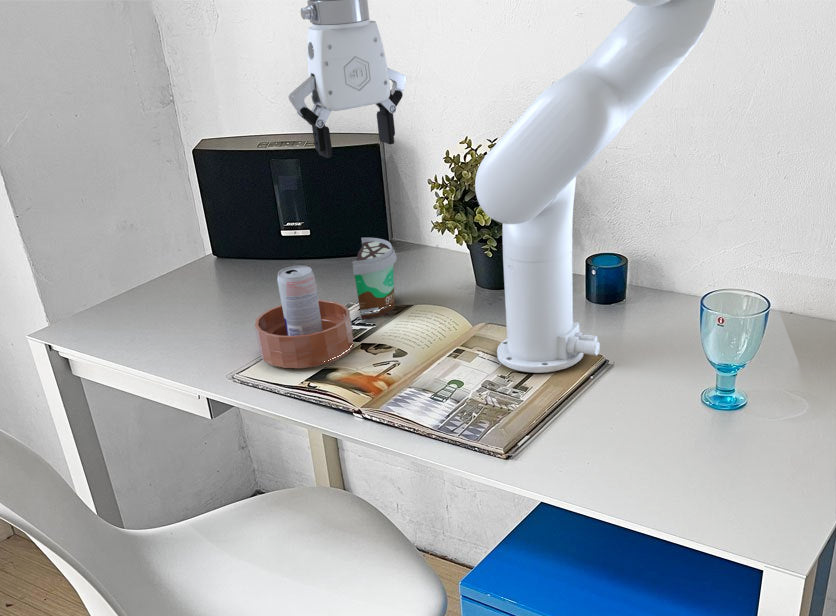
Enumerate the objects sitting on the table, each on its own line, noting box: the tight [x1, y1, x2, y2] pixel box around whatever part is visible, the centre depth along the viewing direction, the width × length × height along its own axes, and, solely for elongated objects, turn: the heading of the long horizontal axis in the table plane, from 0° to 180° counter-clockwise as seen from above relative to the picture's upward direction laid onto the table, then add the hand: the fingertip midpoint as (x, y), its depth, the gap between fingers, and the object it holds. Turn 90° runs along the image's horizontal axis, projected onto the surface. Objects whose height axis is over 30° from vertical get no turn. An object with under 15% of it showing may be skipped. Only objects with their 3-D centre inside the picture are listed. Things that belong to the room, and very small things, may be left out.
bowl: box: [254, 299, 355, 369], centre depth 148 cm, size 14×14×6 cm
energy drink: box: [276, 265, 323, 336], centre depth 146 cm, size 5×5×12 cm
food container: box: [352, 237, 398, 320], centre depth 160 cm, size 12×6×10 cm, turn 179°
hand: (356, 149), depth 137 cm, fingers open, 9 cm apart
